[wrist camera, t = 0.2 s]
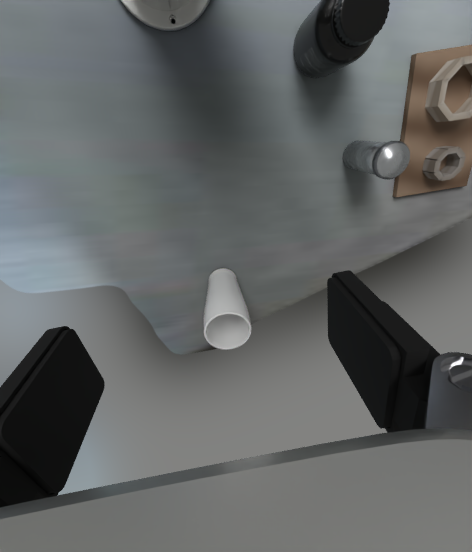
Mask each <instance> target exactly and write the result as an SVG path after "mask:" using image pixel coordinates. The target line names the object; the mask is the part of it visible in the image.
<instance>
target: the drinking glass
mask: <svg viewBox="0 0 472 552" xmlns="http://www.w3.org/2000/svg"><path fill="white" fill-rule="evenodd" d="M203 323H204V336H205V338H206V340H207V342H208V343H209V344H211V345H212V346H214V347H216V348H218V349H224V350H229V349H234V348H237V347H239V346H241V345H243V344H244V343H245V342H246V341H247V340H248V339H249V337H250V335H251V322H250V316H249V312H248V308H247V305H246V303H245V300H244V298H243V295H242V292H241V290H240V287H239V284H238V281H237V277H236V275H235V274H234V273H233V272H232V271H231V270H229V269H225V268H221V269H217V270H215V271H214V272H212V273H211V275H210V277H209V280H208V290H207V297H206V303H205V309H204V322H203Z"/></svg>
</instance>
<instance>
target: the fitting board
mask: <svg viewBox="0 0 472 552" xmlns="http://www.w3.org/2000/svg"><path fill="white" fill-rule="evenodd" d="M400 142H403V143H405V144H406V145H407V146H408V148H409V150H410V160H409V163H408V166H407V167H406V169H405V170H404V171H403V172H402V173H401V174H400V175H399V176H397V177H395V183H394V191H393V196H394V197H401V196H407V195H413V194H419V193H425V192H431V191H437V190H443V189H449V188H455V187H461V186H467V182H468V178H469V174H470V170H471V167H472V45H467V46H461V47H455V48H449V49H442V50H436V51H430V52H423V53H417V54H414V55H412V57H411V64H410V72H409V79H408V87H407V94H406V102H405V109H404V116H403V124H402V131H401V139H400Z"/></svg>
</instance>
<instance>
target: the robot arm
mask: <svg viewBox="0 0 472 552" xmlns="http://www.w3.org/2000/svg"><path fill="white" fill-rule="evenodd" d="M121 1H122V3H123V4H124V5H125V7H126V8H127V9H128V10H129V11H130V12H131V13H132V14H133V15H134V16H135V17H136V18H137V19H138V20H140V21H141V22H143V23H144V24H146V25H148V26H150V27H153V28H155V29H158V30H164V31H174V30H180V29H182V28H185V27H187V26H189V25H190V24H192V23H193V22H195V21H196V20H197V19H198V18H199V17H200V16H201V15H202V14H203V12H204V11H205V9H206V7H207V6H208V4H209V2H210V0H121ZM173 19H174V20H175V24H172V23H171V21H172V20H173ZM327 286H328V338H329V341H330V344H331V346H332V348H333V349H334V351H335V353H336V355H337V356H338V358H339V360H340V361H341V363H342V365H343V367H344V368H345V370H346V372H347V374H348V375H349V377H350V379H351V380H352V382H353V384H354V385H355V387H356V389H357V391H358V393H359V394H360V396H361V398H362V399H363V401H364V403H365V405H366V406H367V408H368V410H369V411H370V413H371V415H372V417H373V418H374V420H375V422H376V423H377V425H378V426H379V427H380V428H385V429H386V431H387V432H388V433H382V434H376V435H371V436H365V437H359V438H353V439H347V440H341V441H335V442H330V443H324V444H319V445H313V446H309V447H303V448H298V449H292V450H287V451H282V452H277V453H271V454H266V455H261V456H256V457H250V458H245V459H240V460H235V461H230V462H224V463H219V464H214V465H209V466H204V467H199V468H194V469H188V470H184V471H178V472H173V473H168V474H163V475H158V476H153V477H148V478H143V479H138V480H133V481H128V482H123V483H118V484H112V485H108V486H103V487H98V488H93V489H88V490H83V491H78V492H73V493H68V494H63V495H58V493H59V492H60V491H61V490H62V489H63V488H64V486H65V484H66V481H67V479H68V477H69V474H70V472H71V469H72V467H73V464H74V461H75V459H76V457H77V454H78V452H79V449H80V447H81V444H82V442H83V440H84V437H85V435H86V432H87V430H88V427H89V425H90V422H91V420H92V417H93V415H94V412H95V410H96V407H97V405H98V403H99V400H100V397H101V395H102V393H103V390H104V380H103V378H102V376H101V374H100V373H99V371H98V369H97V367H96V366H95V364H94V363H93V361H92V359H91V357H90V356H89V354H88V352H87V351H86V349H85V347H84V345H83V344H82V342H81V340H80V339H79V337H78V335H77V334H76V332H75V331H74V330H73V329H70V328H69V327H67V326H63V327H58V328H53V329H49V330H47V331H46V332H45V333H44V334H43V336H42V337H41V338H40V339H39V340H38V342H37V343H36V344H35V345H34V347H33V348H32V349H31V350H30V352H29V353H28V354H27V355H26V356H25V358H24V359H23V360H22V361H21V363H20V364H19V365H18V366H17V367H16V369H15V370H14V371H13V372H12V374H11V375H10V376H9V377H8V378H7V380H6V381H5V382H4V383H3V385H2V386H1V387H0V552H472V355H471V354H466V353H459V352H448V353H444V354H441V355H440V354H439V353H438V352H437V351H436V350H435V349H434V348H433V347H432V346H431V345H430V344H429V343H428V342H427V341H425V340H424V339H423V338H422V337H421V336H420V335H419V334H418V333H417V332H416V331H415V330H414V329H413V328H412V327H411V326H410V325H409V324H408V323H407V322H405V321H404V319H403V318H401V317H400V316H399V315H398V314H397V313H396V312H395V311H394V310H393V309H392V308H391V307H390V306H389V305H388V304H386V303H385V302H383V301H381V300H380V299H379V298H378V297H377V296H376V295H375V294H374V293H373V292H372V291H371V290H370V289H369V288H368V287H367V286H366V285H364V284H363V282H362V281H360V280H359V279H358V278H357V277H356V276H355V275H354V274H353V273H352V272H351V271H343V272H338V273H333V275H332V278H329V279H328V282H327ZM57 495H58V496H57Z"/></svg>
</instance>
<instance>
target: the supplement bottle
mask: <svg viewBox="0 0 472 552" xmlns="http://www.w3.org/2000/svg"><path fill="white" fill-rule="evenodd" d="M389 4H390V3H389V0H321V1H320V2H319V3H318V5H317V6H316V7H315V8H314V9H313V11H312V12H311V13H310V14H309V15H308V17H307V18H306V19H305V20H304V22H303V23H302V24H301V26H300V28H299V30H298V32H297V34H296V38H295V42H294V56H295V60H296V63H297V65H298V67H299V69H300V70H301V71H302V72H303V73H304V74H305V75H307V76H309V77H311V78H321V77H325V76H327V75H329V74H331V73H333V72H335V71H337V70H339V69H341V68H343V67H345V66H347V65H349V64H350V63H352V62H354V61H356V60H357V59H358V58H360V57H361V56H362V55H363V54H364V53H365V52H366V51H367V49H368V48H369V46H370V45H371V43H372V41H373V39H374V37H375V35H377V34H378V32H379V31H380V30H381V29H382V26H383V25H384V23H385V20H386V18H387V14H388V11H389Z"/></svg>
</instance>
